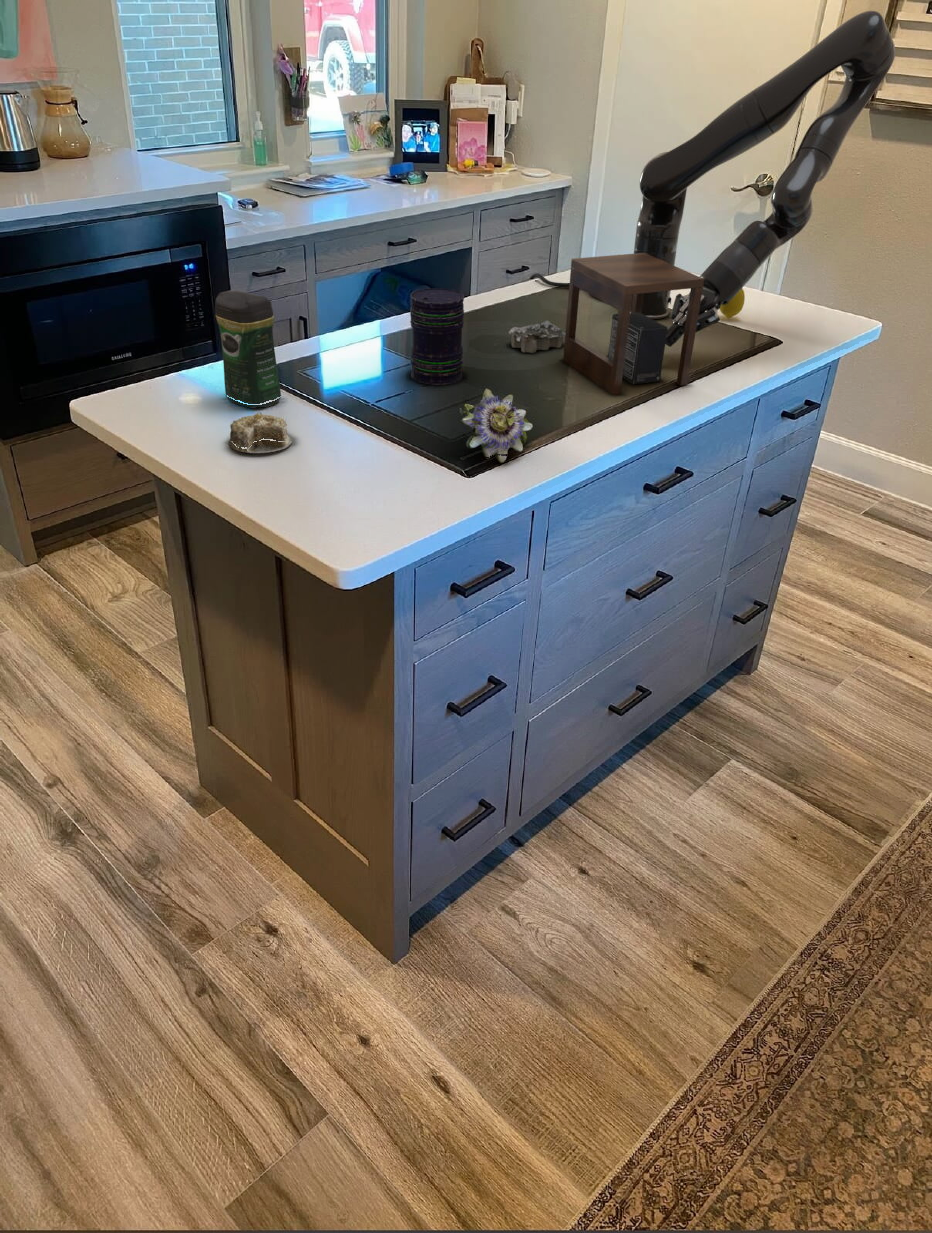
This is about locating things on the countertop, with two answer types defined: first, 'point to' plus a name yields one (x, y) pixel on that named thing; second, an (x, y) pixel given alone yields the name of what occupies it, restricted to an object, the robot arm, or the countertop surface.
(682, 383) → the shelf
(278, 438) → the cake
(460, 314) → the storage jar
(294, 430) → the countertop surface
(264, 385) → the coffee jar
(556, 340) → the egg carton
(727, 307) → the lemon
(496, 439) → the passion flower
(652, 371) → the small box
